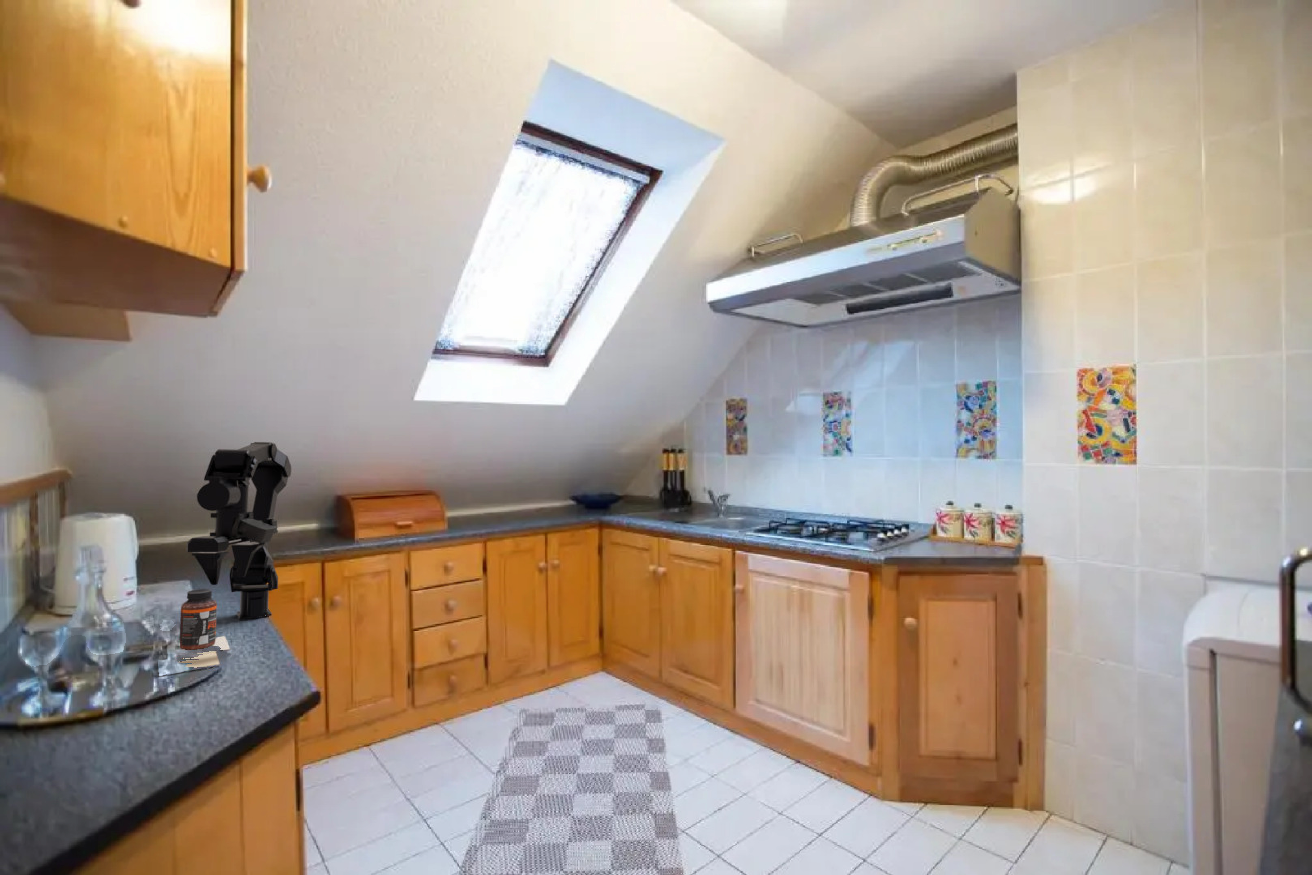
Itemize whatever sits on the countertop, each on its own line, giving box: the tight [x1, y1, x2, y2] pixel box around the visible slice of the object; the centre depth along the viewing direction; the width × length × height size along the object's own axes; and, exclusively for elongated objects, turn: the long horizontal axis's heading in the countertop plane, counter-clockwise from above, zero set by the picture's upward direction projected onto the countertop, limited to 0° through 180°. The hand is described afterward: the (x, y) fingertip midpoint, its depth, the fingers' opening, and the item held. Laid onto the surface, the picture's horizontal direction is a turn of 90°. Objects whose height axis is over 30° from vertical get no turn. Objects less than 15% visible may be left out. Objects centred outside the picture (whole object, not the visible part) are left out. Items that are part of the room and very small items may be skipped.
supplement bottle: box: [179, 588, 218, 650], centre depth 128 cm, size 6×6×11 cm
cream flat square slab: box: [212, 635, 231, 651], centre depth 128 cm, size 10×10×1 cm
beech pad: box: [179, 651, 221, 668], centre depth 118 cm, size 9×9×1 cm
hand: (228, 580), depth 135 cm, fingers open, 9 cm apart
